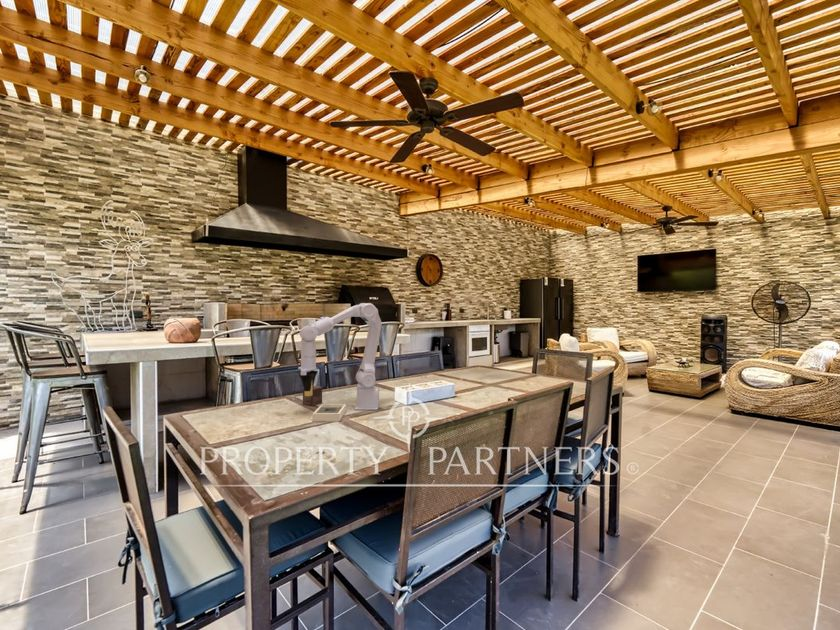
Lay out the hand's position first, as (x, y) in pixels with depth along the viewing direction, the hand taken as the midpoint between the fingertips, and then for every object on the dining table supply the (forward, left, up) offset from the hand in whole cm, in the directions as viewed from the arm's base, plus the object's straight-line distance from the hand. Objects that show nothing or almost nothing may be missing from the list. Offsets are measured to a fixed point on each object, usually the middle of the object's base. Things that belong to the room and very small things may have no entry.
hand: (308, 390), depth 161 cm
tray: (-9, +4, -9) cm, 14 cm away
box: (+3, -15, -10) cm, 18 cm away
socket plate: (-9, +4, -9) cm, 14 cm away
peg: (0, 0, -2) cm, 2 cm away
